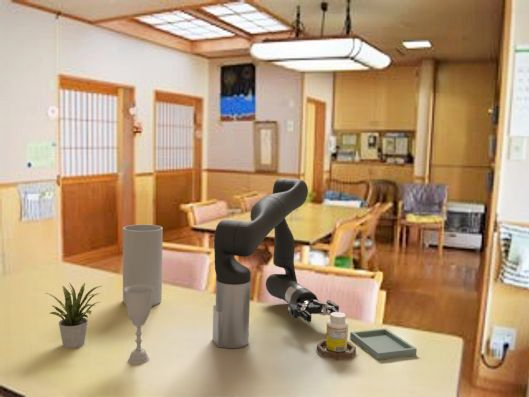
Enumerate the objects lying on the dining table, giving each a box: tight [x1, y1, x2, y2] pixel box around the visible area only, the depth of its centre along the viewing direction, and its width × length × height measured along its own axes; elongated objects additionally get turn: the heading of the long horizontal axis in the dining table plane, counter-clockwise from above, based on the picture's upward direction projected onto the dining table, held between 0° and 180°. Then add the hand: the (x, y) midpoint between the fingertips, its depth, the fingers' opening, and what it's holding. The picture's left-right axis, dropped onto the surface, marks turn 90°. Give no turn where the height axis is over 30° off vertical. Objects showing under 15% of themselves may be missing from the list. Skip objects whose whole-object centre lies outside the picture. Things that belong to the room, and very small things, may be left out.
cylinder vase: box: [122, 224, 164, 307], centre depth 163 cm, size 12×12×25 cm
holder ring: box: [316, 339, 357, 361], centre depth 130 cm, size 10×10×2 cm
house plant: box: [45, 282, 102, 349], centre depth 128 cm, size 14×14×16 cm
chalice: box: [124, 284, 154, 365], centre depth 120 cm, size 7×7×18 cm
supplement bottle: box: [325, 311, 349, 353], centre depth 130 cm, size 6×6×10 cm
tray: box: [349, 328, 418, 361], centre depth 135 cm, size 12×15×2 cm
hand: (324, 317), depth 137 cm, fingers open, 8 cm apart
